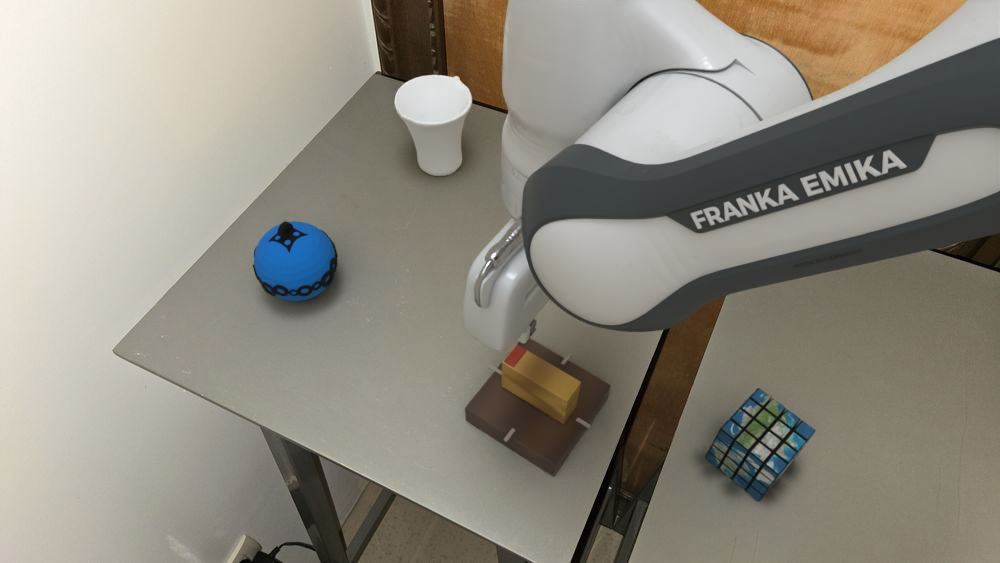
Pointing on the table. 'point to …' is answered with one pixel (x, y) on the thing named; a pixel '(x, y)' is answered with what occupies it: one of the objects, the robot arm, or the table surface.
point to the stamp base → (536, 413)
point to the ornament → (295, 261)
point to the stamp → (540, 383)
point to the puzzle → (759, 443)
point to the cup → (435, 120)
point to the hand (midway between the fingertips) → (553, 294)
